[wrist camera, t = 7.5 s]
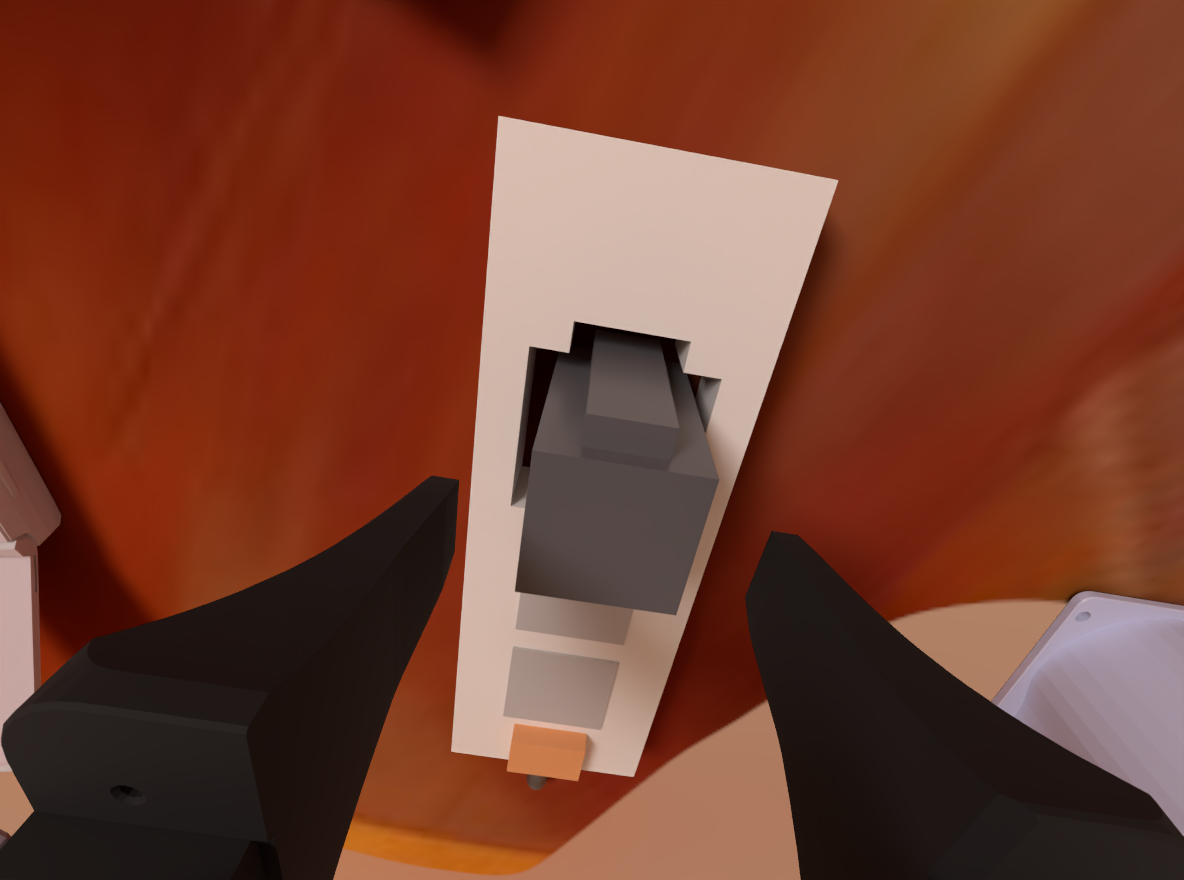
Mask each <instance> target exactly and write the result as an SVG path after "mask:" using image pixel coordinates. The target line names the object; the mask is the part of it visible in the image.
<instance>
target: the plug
mask: <svg viewBox="0 0 1184 880" xmlns="http://www.w3.org/2000/svg"><path fill="white" fill-rule="evenodd" d="M718 482H719V477H718V474H717V470H716V467H715V464H714V461H713V457H712V454H711V451H710V448H709V444H708V441H707V438H706V435H705V431H704V428H703V425H702V421H701V418H700V415H699V412H698V408H697V405H696V402H695V399H694V395H693V392H692V389H691V386H690V382H689V379H688V376H687V373H683V370H682V367H681V363H675V362H669V361H664V357H663V352H662V348H661V343H660V340H657V339H651V338H645V337H639V336H633V335H627V334H621V333H615V332H609V331H603V330H597V329H596V330H595V336H594V342H593V348H592V349H591V348H585V347H579V346H573V345H571V347H570V351H569V353H566V352H560V351H559V354H558V358H557V361H556V365H555V369H554V372H553V376H552V380H551V383H550V387H549V391H548V394H547V398H546V402H545V405H544V409H543V413H542V416H541V420H540V424H539V427H538V431H537V435H536V438H535V442H534V446H533V449H532V456H531V464H530V472H529V480H528V488H527V496H526V504H525V512H524V520H523V528H522V537H521V545H520V553H519V561H518V569H517V577H516V585H515V592H520V593H526V594H533V595H540V596H547V597H554V598H561V599H567V600H574V601H581V602H588V603H595V604H602V605H608V606H615V607H622V608H629V609H636V610H642V611H649V612H656V613H663V614H670V615H676V614H677V611H678V608H679V605H680V602H681V599H682V595H683V592H684V589H685V586H686V583H687V580H688V577H689V573H690V570H691V567H692V564H693V561H694V558H695V555H696V552H697V548H698V545H699V542H700V539H701V536H702V533H703V530H704V526H705V523H706V520H707V517H708V514H709V511H710V508H711V504H712V501H713V498H714V495H715V492H716V489H717V486H718Z"/></svg>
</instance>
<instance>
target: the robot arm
mask: <svg viewBox="0 0 1184 880" xmlns="http://www.w3.org/2000/svg"><path fill="white" fill-rule="evenodd" d="M458 488H459V480H456V479H449V478H443V477H437V476H431V477H429V478H428V479H426V480H425V481H424V482H422V483H421V484H420V485H418V486H417V487H416V488H415V489H413V490H412V491H411V492H409V493H408V494H407V495H406V496H404V497H403V498H402V499H400V500H399V501H398V502H396V503H395V504H394V505H392V506H391V507H390V508H388V509H387V510H386V511H384V512H383V513H381V514H380V515H379V516H377V517H376V518H374V519H373V520H372V521H370V522H369V523H367V524H366V525H365V526H363V527H362V528H360V529H358V530H357V531H355V532H354V533H352V534H351V535H349V536H348V537H346V538H345V539H343V540H341V541H340V542H338V543H337V544H335V545H334V546H332V547H330V548H328V549H327V550H325V551H323V552H321V553H320V554H318V555H316V556H314V557H312V558H310V559H308V560H307V561H305V562H303V563H301V564H299V565H297V566H295V567H293V568H291V569H289V570H287V571H285V572H283V573H280V574H278V575H276V576H274V577H271V578H269V579H267V580H264V581H262V582H260V583H258V584H255V585H253V586H251V587H249V588H246V589H244V590H242V591H239V592H237V593H234V594H232V595H229V596H227V597H224V598H221V599H219V600H216V601H213V602H211V603H208V604H205V605H202V606H199V607H197V608H194V609H191V610H188V611H185V612H182V613H179V614H176V615H173V616H170V617H167V618H164V619H160V620H157V621H153V622H150V623H147V624H143V625H140V626H136V627H133V628H129V629H126V630H122V631H119V632H116V633H112V634H109V635H105V636H101V637H97V638H93V639H92V640H91V641H90V642H89V643H87V644H86V645H85V646H84V647H83V648H82V649H81V650H79V651H78V652H77V653H76V654H75V655H74V656H73V657H72V658H71V659H69V660H68V661H67V662H66V663H65V664H64V665H63V666H62V667H61V668H60V669H59V670H58V671H57V672H56V673H54V674H53V675H52V676H51V677H50V678H49V679H48V680H47V681H46V682H45V683H44V684H43V685H42V686H41V687H40V688H39V689H38V690H36V691H35V692H34V693H33V694H32V695H31V696H30V697H29V698H28V699H27V700H26V701H25V702H24V703H23V704H22V705H21V706H20V707H19V708H17V709H16V710H15V711H14V712H13V713H12V714H11V716H10V717H9V718H8V719H7V720H6V721H5V722H4V724H3V728H2V734H1V746H2V749H3V752H4V755H5V757H6V760H7V762H8V764H9V766H10V768H11V769H12V771H13V773H14V775H15V777H16V778H17V780H18V782H19V784H20V785H21V787H22V789H23V791H24V793H25V795H26V796H27V798H28V800H29V802H30V803H31V805H32V807H33V809H34V812H33V813H32V814H31V815H30V816H29V818H28V819H27V820H26V821H25V822H24V823H23V824H22V826H21V827H20V828H19V829H18V830H17V831H16V832H15V834H14V835H13V836H12V837H11V836H10V835H9V834H8V833H6V832H4V831H2V830H0V880H333V878H334V875H335V871H336V868H337V865H338V861H339V858H340V855H341V852H342V848H343V845H344V842H345V839H346V836H347V833H348V830H349V827H350V824H351V821H352V817H353V814H354V811H355V808H356V805H357V802H358V799H359V796H360V793H361V790H362V787H363V784H364V781H365V778H366V775H367V772H368V769H369V766H370V763H371V760H372V757H373V754H374V751H375V748H376V745H377V742H378V739H379V736H380V734H381V731H382V728H383V725H384V722H385V719H386V717H387V714H388V711H389V708H390V705H391V702H392V700H393V697H394V694H395V692H396V689H397V687H398V685H399V682H400V680H401V677H402V675H403V673H404V671H405V669H406V667H407V664H408V662H409V660H410V658H411V656H412V654H413V652H414V649H415V647H416V645H417V643H418V641H419V639H420V637H421V635H422V632H423V630H424V628H425V626H426V624H427V622H428V620H429V617H430V615H431V613H432V611H433V609H434V607H435V604H436V602H437V600H438V598H439V596H440V593H441V591H442V589H443V586H444V583H445V580H446V577H447V574H448V571H449V567H450V564H451V561H452V558H453V555H454V551H455V536H456V520H457V504H458ZM745 599H746V608H747V616H748V623H749V630H750V637H751V641H752V645H753V649H754V652H755V656H756V660H757V663H758V667H759V671H760V674H761V678H762V681H763V685H764V689H765V692H766V696H767V699H768V703H769V706H770V710H771V713H772V717H773V721H774V724H775V728H776V731H777V735H778V739H779V744H780V748H781V752H782V758H783V763H784V769H785V775H786V781H787V787H788V792H789V798H790V805H791V811H792V818H793V825H794V831H795V838H796V845H797V852H798V860H799V868H800V876H801V880H1184V606H1181V605H1175V604H1168V603H1162V602H1156V601H1150V600H1143V599H1137V598H1131V597H1124V596H1118V595H1112V594H1106V593H1099V592H1093V591H1084V592H1080V593H1078V594H1076V595H1075V596H1074V597H1073V598H1072V599H1071V600H1070V601H1069V602H1068V604H1067V605H1066V606H1065V608H1064V609H1063V610H1062V612H1061V613H1060V614H1059V615H1058V617H1057V618H1056V619H1055V620H1054V622H1053V623H1052V624H1051V626H1050V627H1049V628H1048V630H1047V631H1046V632H1045V633H1044V635H1043V636H1042V637H1041V638H1040V640H1039V641H1038V642H1037V644H1036V645H1035V646H1034V647H1033V649H1032V650H1031V651H1030V652H1029V654H1028V655H1027V656H1026V658H1025V659H1024V660H1023V662H1022V663H1021V664H1020V665H1019V667H1018V668H1017V669H1016V670H1015V672H1014V673H1013V674H1012V676H1011V677H1010V678H1009V679H1008V681H1007V682H1006V683H1005V685H1004V686H1003V687H1002V688H1001V690H1000V691H999V692H998V694H997V695H996V696H995V697H994V699H993V700H992V701H991V702H990V701H989V700H988V699H986V698H984V697H983V696H982V695H980V694H979V693H977V692H976V691H974V690H973V689H971V688H970V687H968V686H967V685H966V684H964V683H963V682H962V681H960V680H959V679H957V678H956V677H955V676H953V675H952V674H951V673H949V672H948V671H947V670H945V669H944V668H943V667H942V666H940V665H939V664H938V663H936V662H935V661H934V660H933V659H931V658H930V657H929V656H927V655H926V654H925V653H924V652H922V651H921V650H920V649H919V648H917V647H916V646H915V645H914V644H913V643H911V642H910V641H909V640H908V639H907V638H905V637H904V636H903V635H902V634H901V633H900V632H898V631H897V630H896V629H895V628H894V627H893V626H892V625H891V624H890V623H888V622H887V621H886V620H885V619H884V618H883V617H882V616H881V615H880V614H878V613H877V612H876V611H875V610H874V609H873V608H872V607H871V606H870V605H869V604H868V603H867V602H866V601H865V600H864V599H863V598H862V597H860V596H859V595H858V594H857V593H856V592H855V591H854V590H853V589H852V588H851V587H850V586H849V585H848V584H847V583H846V582H845V581H844V580H843V579H842V578H841V577H840V576H839V575H838V574H837V573H836V572H835V571H834V570H833V569H832V568H831V567H830V566H829V565H828V564H827V563H826V562H825V561H824V560H823V559H822V558H821V557H820V556H819V555H818V554H817V553H816V552H815V551H814V550H813V549H812V548H811V547H810V546H809V545H808V544H807V543H806V542H805V541H804V540H802V539H801V538H800V537H799V536H798V535H793V534H787V533H781V532H775V531H771V534H770V536H769V539H768V541H767V544H766V546H765V549H764V551H763V554H762V556H761V559H760V561H759V564H758V566H757V569H756V571H755V574H754V576H753V579H752V581H751V584H750V586H749V589H748V591H747V594H746V596H745Z"/></svg>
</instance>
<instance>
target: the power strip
mask: <svg viewBox="0 0 1184 880" xmlns="http://www.w3.org/2000/svg"><path fill="white" fill-rule="evenodd" d="M837 183H838V180H834V179H829V178H823V177H818V176H813V175H808V174H802V173H797V172H792V171H786V170H781V169H776V168H771V167H765V166H760V165H755V164H750V163H744V162H739V161H734V160H729V159H723V158H718V157H713V156H707V155H702V154H697V153H692V152H686V151H681V150H676V149H671V148H665V147H660V146H655V145H649V144H644V143H639V142H634V141H628V140H623V139H618V138H613V137H607V136H602V135H597V134H592V133H586V132H581V131H576V130H570V129H565V128H560V127H555V126H549V125H544V124H539V123H534V122H528V121H523V120H518V119H513V118H507V117H502V116H499V117H498V131H497V144H496V157H495V171H494V184H493V198H492V211H491V225H490V238H489V252H488V265H487V278H486V292H485V305H484V319H483V332H482V346H481V359H480V373H479V386H478V399H477V413H476V426H475V440H474V453H473V467H472V480H471V494H470V507H469V520H468V534H467V547H466V561H465V574H464V588H463V601H462V615H461V628H460V641H459V655H458V668H457V682H456V695H455V709H454V722H453V736H452V749H451V752H458V753H465V754H472V755H479V756H487V757H494V758H501V759H508V766H507V771H509V772H516V773H523V774H527V783H528V785H529V786H530V787H531V788H532V789H535V790H538V789H541V788H542V787H543V786H544V785H545V783H546V780H547V777H552V778H559V779H567V780H574V781H578V778H579V775H580V771H581V770H587V771H595V772H602V773H609V774H616V775H623V776H631V777H634V774H635V771H636V768H637V766H638V763H639V760H640V757H641V754H642V751H643V748H644V745H645V742H646V739H647V736H648V734H649V731H650V728H651V725H652V722H653V719H654V716H655V713H656V710H657V707H658V704H659V701H660V699H661V696H662V693H663V690H664V687H665V684H666V681H667V678H668V675H669V672H670V669H671V667H672V664H673V661H674V658H675V655H676V652H677V649H678V646H679V643H680V640H681V637H682V635H683V632H684V629H685V626H686V623H687V620H688V617H689V614H690V611H691V608H692V605H693V602H694V600H695V597H696V594H697V591H698V588H699V585H700V582H701V579H702V576H703V573H704V570H705V568H706V565H707V562H708V559H709V556H710V553H711V550H712V547H713V544H714V541H715V538H716V535H717V533H718V530H719V527H720V524H721V521H722V518H723V515H724V512H725V509H726V506H727V503H728V501H729V498H730V495H731V492H732V489H733V486H734V483H735V480H736V477H737V474H738V471H739V468H740V466H741V463H742V460H743V457H744V454H745V451H746V448H747V445H748V442H749V439H750V436H751V434H752V431H753V428H754V425H755V422H756V419H757V416H758V413H759V410H760V407H761V404H762V401H763V399H764V396H765V393H766V390H767V387H768V384H769V381H770V378H771V375H772V372H773V369H774V367H775V364H776V361H777V358H778V355H779V352H780V349H781V346H782V343H783V340H784V337H785V335H786V332H787V329H788V326H789V323H790V320H791V317H792V314H793V311H794V308H795V305H796V302H797V300H798V297H799V294H800V291H801V288H802V285H803V282H804V279H805V276H806V273H807V270H808V268H809V265H810V262H811V259H812V256H813V253H814V250H815V247H816V244H817V241H818V238H819V235H820V233H821V230H822V227H823V224H824V221H825V218H826V215H827V212H828V209H829V206H830V203H831V201H832V198H833V195H834V192H835V189H836V186H837ZM576 322H581V323H587V324H593V325H598V326H604V327H610V328H616V329H621V330H627V331H633V332H639V333H644V334H650V335H656V336H661V337H667V338H673V339H676V341H675V346H676V350H677V353H678V356H679V360H680V363H681V367H682V370H683V373H688V374H694V375H700V376H701V379H700V383H699V387H698V390H697V394H696V397H695V402H696V405H697V408H698V412H699V415H700V418H701V421H702V425H703V428H704V431H705V435H706V438H707V441H708V444H709V448H710V451H711V454H712V457H713V461H714V464H715V467H716V470H717V474H718V477H719V482H718V486H717V489H716V492H715V495H714V498H713V501H712V504H711V508H710V511H709V514H708V517H707V520H706V523H705V526H704V530H703V533H702V536H701V539H700V542H699V545H698V548H697V552H696V555H695V558H694V561H693V564H692V567H691V570H690V573H689V577H688V580H687V583H686V586H685V589H684V592H683V595H682V599H681V602H680V605H679V608H678V611H677V614H676V615H670V614H663V613H656V612H649V611H642V610H636V609H629V608H622V607H615V606H608V605H602V604H595V603H588V602H581V601H574V600H567V599H561V598H554V597H547V596H540V595H533V594H526V593H520V592H515V585H516V577H517V569H518V561H519V553H520V545H521V537H522V528H523V520H524V512H525V504H526V496H527V488H528V480H529V472H530V467H525V466H522V464H523V456H524V448H525V440H526V432H527V424H528V416H529V408H530V400H531V392H532V384H533V376H534V368H535V360H536V352H537V348H543V349H549V350H555V351H560V352H566V353H569V351H570V347H571V342H572V338H573V333H574V329H575V324H576Z"/></svg>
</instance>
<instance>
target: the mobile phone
mask: <svg viewBox="0 0 1184 880" xmlns="http://www.w3.org/2000/svg"><path fill="white" fill-rule="evenodd" d="M60 521H61V513H60V511H59V509H58V507H57V505H56V503H55V501H54V499H53V498H52V496H51V494H50V492H49V490H48V489H47V487H46V485H45V483H44V481H43V479H42V478H41V476H40V474H39V472H38V470H37V468H36V467H35V465H34V463H33V461H32V459H31V457H30V456H29V454H28V452H27V450H26V448H25V446H24V445H23V443H22V441H21V439H20V437H19V435H18V434H17V432H16V430H15V428H14V426H13V424H12V423H11V421H10V419H9V417H8V415H7V414H6V412H5V410H4V408H3V406H2V404H1V403H0V772H8V771H12V769H11V768H10V766H9V764H8V762H7V760H6V757H5V755H4V752H3V749H2V746H1V734H2V728H3V724H4V722H5V721H6V720H7V719H8V718H9V717H10V716H11V714H12V713H13V712H14V711H15V710H16V709H17V708H19V707H20V706H21V705H22V704H23V703H24V702H25V701H26V700H27V699H28V698H29V697H30V696H31V695H32V694H33V693H34V692H35V691H36V690H38V689H39V688H40V687H41V669H40V625H39V580H38V552H37V546H39V545H40V544H41V543H42V542H44V541H45V540H46V539H47V538H48V537H49V536H50V535H51V533H52V532H53V531H54V530H55V529H56V528H57V527H58V526H59V525H60Z"/></svg>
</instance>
